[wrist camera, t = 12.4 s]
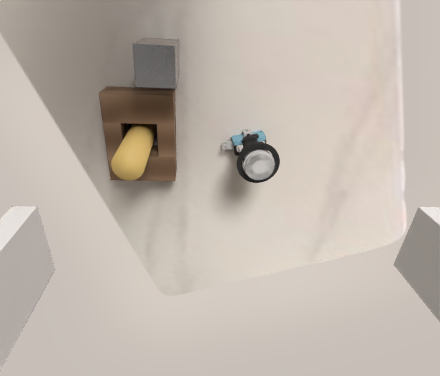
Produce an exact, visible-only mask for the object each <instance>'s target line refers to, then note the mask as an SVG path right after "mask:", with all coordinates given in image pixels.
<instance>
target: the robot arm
mask: <svg viewBox="0 0 440 376" xmlns="http://www.w3.org/2000/svg"><path fill="white" fill-rule="evenodd" d="M394 266H395V267H396V268H397V269H398V270H399V272H400V273H401V274H402V275H403V276H404V278H405V279H406V280H407V282H408V283H409V284H410V285H411V287H412V288H413V289H414V290H415V292H416V293H417V294H418V295H419V297H420V298H421V299H422V300H423V302H424V303H425V304H426V305H427V306H428V308H429V309H430V310H431V312H432V313H433V314H434V315H435V317H436V318H437V319H438V320H439V321H440V208H439V207H419V208H418V210H417V212H416V214H415V217H414V219H413V222H412V224H411V226H410V228H409V231H408V233H407V235H406V238H405V240H404V242H403V244H402V247H401V249H400V252H399V254H398V256H397V258H396V261H395V263H394ZM54 271H55V268H54V265H53V261H52V257H51V253H50V250H49V247H48V243H47V239H46V236H45V233H44V229H43V225H42V222H41V219H40V215H39V212H38V208H37V206H23V207H22V206H12V207H11V208H10V209H9V210H8V211H7V212H6V213H5V214H4V215H3V216H2V218H0V370H1V368H2V367H3V365H4V363H5V361H6V359H7V357H8V356H9V354H10V352H11V350H12V348H13V346H14V344H15V343H16V341H17V339H18V337H19V335H20V333H21V332H22V330H23V328H24V326H25V324H26V323H27V321H28V319H29V317H30V315H31V313H32V311H33V310H34V308H35V306H36V304H37V302H38V300H39V299H40V297H41V295H42V293H43V291H44V289H45V288H46V286H47V284H48V282H49V280H50V278H51V276H52V275H53V273H54Z"/></svg>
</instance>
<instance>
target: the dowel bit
mask: <svg viewBox="0 0 440 376" xmlns="http://www.w3.org/2000/svg"><path fill="white" fill-rule="evenodd" d="M155 136H156V128H155V125H154V124H132V125H131V127H130V129H129V131H128V132H127V134H126V136H125V137H124V139H123V141H122V143H121V144H120V146H119V148H118V150H117V151H116V153H115V155H114V157H113V158H112V161H111V167H112V170H113V172H114V173H115V174H116V175H117V176H118V177H119V178H121V179H124V180H129V181H130V180H136V179H138V178H139V177H141V176H142V174H143V172H144V170H145V167H146V163H147V160H148V157H149V154H150V151H151V148H152V145H153V142H154V139H155Z"/></svg>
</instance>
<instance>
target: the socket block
mask: <svg viewBox="0 0 440 376" xmlns="http://www.w3.org/2000/svg"><path fill="white" fill-rule="evenodd" d="M99 98H100V105H101V112H102V119H103V127H104V134H105V141H106V148H107V155H108V163H109V170H110V177H111V180H124V179H121V178H119V177H118V176H117V175H116V174H115V173H114V172H113V170H112V167H111V161H112V158H113V157H114V155H115V153H116V151H117V150H118V148H119V146H120V144H121V143H122V141H123V139H124V137H125V136H126V134H127V132H128V125H127V123H132V124H157V137H158V146H152V148H151V151H150V154H149V157H148V160H147V163H146V167H145V170H144V172H143V174H142V176H141V177H139V178H138V179H136V180H151V181H175V178H176V169H177V165H176V116H175V89H159V88H132V87H106V88H105V89H103V90H102V91H101V92H100V93H99Z"/></svg>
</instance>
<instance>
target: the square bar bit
mask: <svg viewBox="0 0 440 376" xmlns="http://www.w3.org/2000/svg"><path fill="white" fill-rule="evenodd" d="M133 54H134V67H135V79H136V87H149V88H176V86H177V82H178V77H179V40H176V39H156V38H144V39H142V40H139V41H137V42H135V43H133Z"/></svg>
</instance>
